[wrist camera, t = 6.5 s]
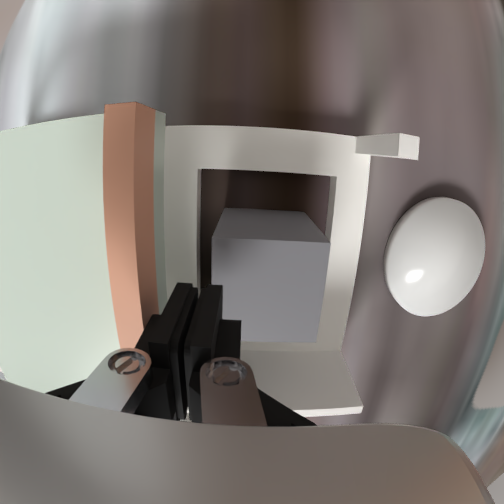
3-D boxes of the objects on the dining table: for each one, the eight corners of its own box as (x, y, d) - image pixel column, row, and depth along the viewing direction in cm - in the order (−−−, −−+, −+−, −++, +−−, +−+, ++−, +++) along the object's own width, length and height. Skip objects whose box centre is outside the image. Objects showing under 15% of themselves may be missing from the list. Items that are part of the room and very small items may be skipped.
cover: (165, 113, 11) (136, 101, 8) (179, 416, 16) (168, 462, 12) (-25, 141, 11) (-70, 146, 7) (22, 382, 15) (-2, 414, 12)
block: (304, 211, 20) (330, 243, 13) (296, 284, 22) (315, 342, 15) (224, 207, 20) (212, 237, 13) (222, 281, 21) (211, 339, 15)
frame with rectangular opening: (363, 139, 18) (419, 137, 11) (334, 345, 23) (360, 413, 16) (23, 141, 18) (-46, 147, 11) (45, 323, 22) (-1, 371, 16)
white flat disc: (486, 204, 20) (494, 206, 19) (462, 308, 22) (468, 313, 21) (393, 189, 19) (399, 191, 18) (372, 311, 22) (377, 318, 21)
